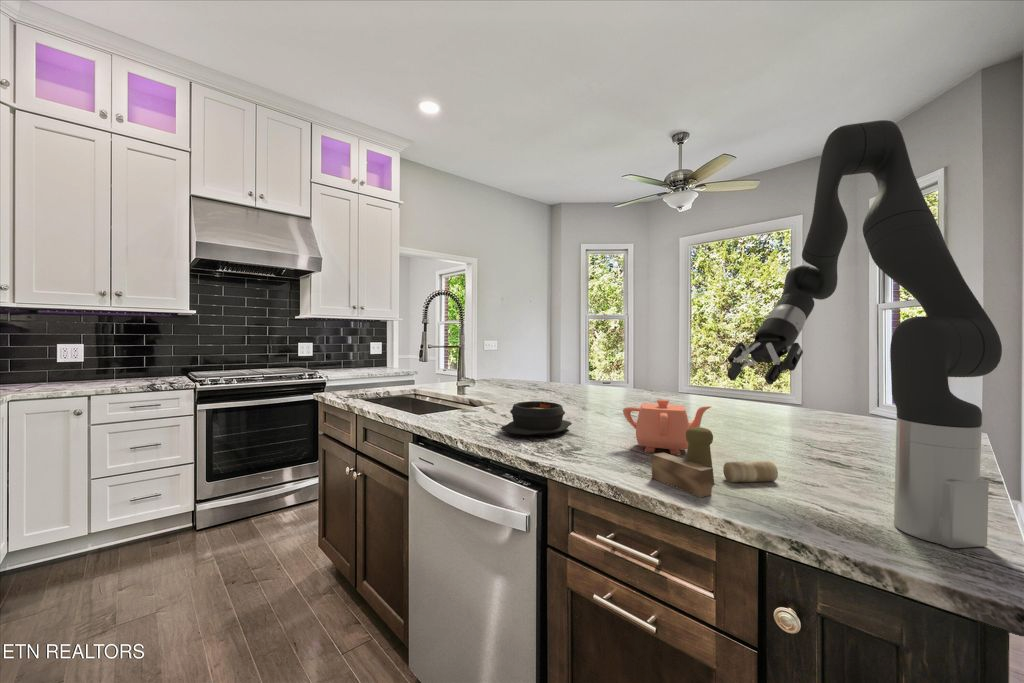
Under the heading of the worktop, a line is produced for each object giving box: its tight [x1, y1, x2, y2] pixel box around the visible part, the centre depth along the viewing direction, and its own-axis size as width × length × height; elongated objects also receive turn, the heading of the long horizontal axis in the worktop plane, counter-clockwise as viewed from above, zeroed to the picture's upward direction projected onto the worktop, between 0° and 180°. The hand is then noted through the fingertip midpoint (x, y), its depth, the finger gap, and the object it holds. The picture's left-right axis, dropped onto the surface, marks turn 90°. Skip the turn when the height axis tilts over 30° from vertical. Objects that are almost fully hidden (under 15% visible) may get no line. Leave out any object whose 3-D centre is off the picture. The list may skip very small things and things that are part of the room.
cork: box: [685, 426, 715, 486], centre depth 88 cm, size 6×6×11 cm
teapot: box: [622, 399, 713, 455], centre depth 113 cm, size 17×16×13 cm
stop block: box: [651, 452, 714, 498], centre depth 85 cm, size 12×3×5 cm, turn 27°
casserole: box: [500, 400, 573, 436], centre depth 132 cm, size 25×19×8 cm
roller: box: [722, 460, 779, 483], centre depth 89 cm, size 9×4×4 cm
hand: (748, 379), depth 93 cm, fingers open, 8 cm apart
